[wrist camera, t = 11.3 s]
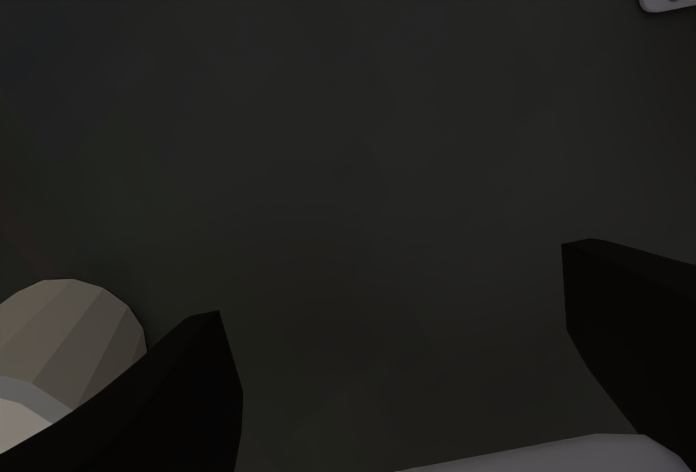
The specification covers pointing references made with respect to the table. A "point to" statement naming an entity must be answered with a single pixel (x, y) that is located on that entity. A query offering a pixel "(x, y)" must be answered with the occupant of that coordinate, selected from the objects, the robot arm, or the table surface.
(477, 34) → the table surface
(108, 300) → the white tapered cylinder
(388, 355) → the table surface
